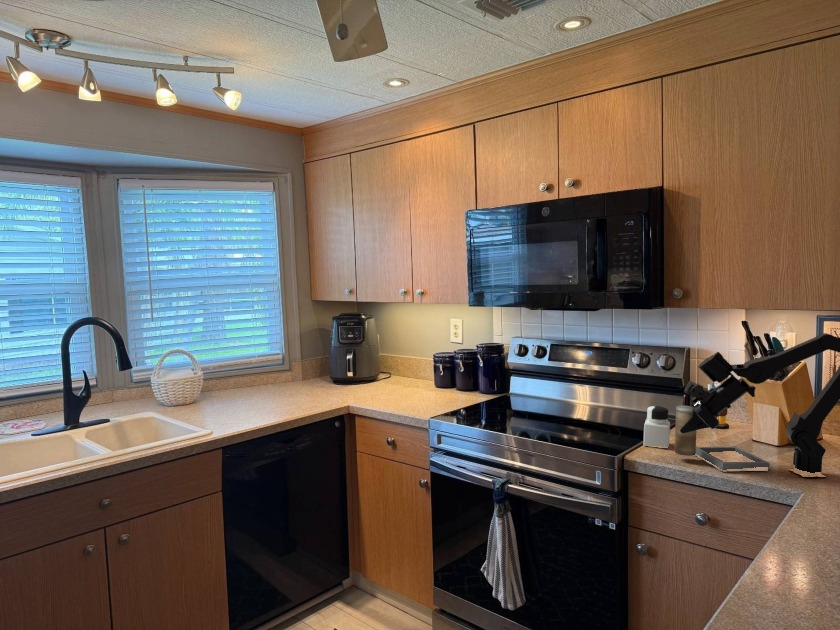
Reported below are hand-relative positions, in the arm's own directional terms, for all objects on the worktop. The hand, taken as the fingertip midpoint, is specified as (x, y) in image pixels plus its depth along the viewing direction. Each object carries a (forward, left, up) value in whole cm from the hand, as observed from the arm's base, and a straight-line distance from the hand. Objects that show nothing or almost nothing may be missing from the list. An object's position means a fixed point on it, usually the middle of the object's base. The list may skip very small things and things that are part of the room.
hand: (680, 429), depth 170 cm
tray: (-4, -13, -9) cm, 16 cm away
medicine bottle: (+14, 0, -9) cm, 17 cm away
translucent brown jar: (-1, -1, -7) cm, 7 cm away
